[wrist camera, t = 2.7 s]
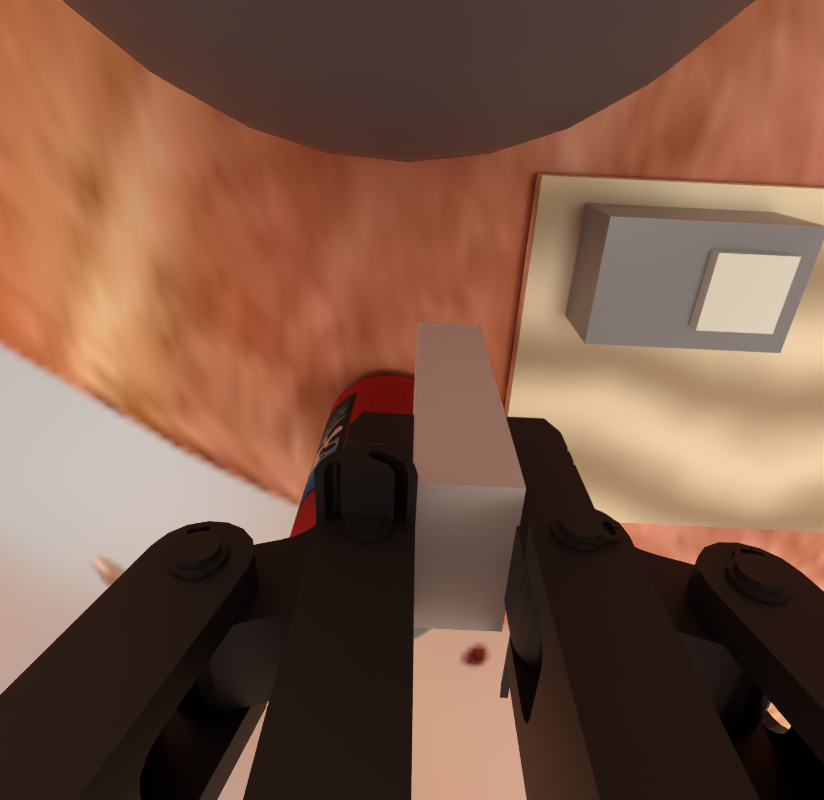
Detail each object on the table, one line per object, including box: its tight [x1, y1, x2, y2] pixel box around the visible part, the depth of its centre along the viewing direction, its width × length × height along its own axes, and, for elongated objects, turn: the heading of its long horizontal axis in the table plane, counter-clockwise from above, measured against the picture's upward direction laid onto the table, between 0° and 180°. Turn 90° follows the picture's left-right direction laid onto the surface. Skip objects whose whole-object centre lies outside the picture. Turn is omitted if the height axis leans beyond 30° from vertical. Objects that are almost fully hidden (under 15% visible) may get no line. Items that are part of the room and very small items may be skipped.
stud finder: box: [565, 203, 824, 353], centre depth 22 cm, size 5×8×4 cm, turn 88°
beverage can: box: [290, 375, 431, 639], centre depth 24 cm, size 7×7×12 cm
